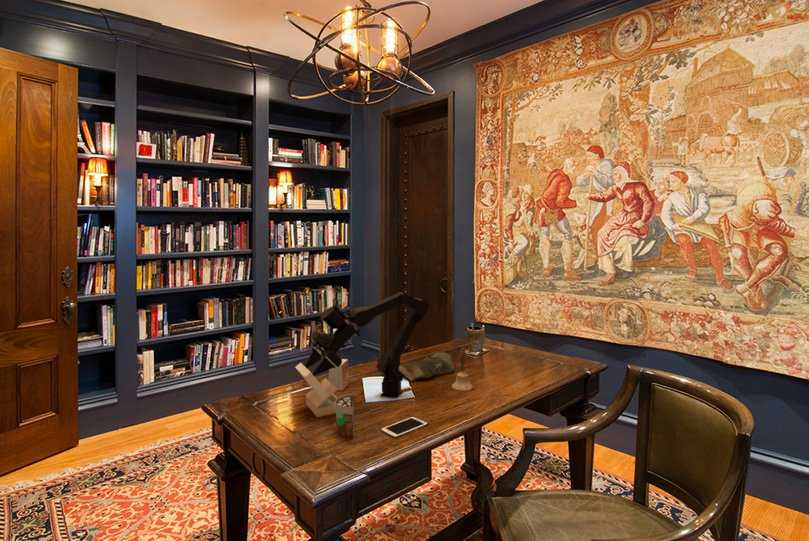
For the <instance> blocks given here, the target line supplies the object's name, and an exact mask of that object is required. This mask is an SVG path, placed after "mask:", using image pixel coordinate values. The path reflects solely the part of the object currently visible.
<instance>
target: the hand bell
mask: <svg viewBox="0 0 809 541" xmlns="http://www.w3.org/2000/svg"><path fill="white" fill-rule="evenodd" d="M466 359H467V352H466V349H465V347H461V348H460V351H459V363H460V369H459V370H460V372H457V373H456V379H455V381H454V382H453V383H452V385H451V389H453V390H456V391H459V392H460V391H461V392H468V391H471V390H472V389H473V388H474V386H473V385H472V384H471V382H470V378H469V374H468V373H467V372H466V368H465V367H466V366H465V365H466V364H465V363H466V361H467V360H466Z"/></svg>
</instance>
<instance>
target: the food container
mask: <svg viewBox="0 0 809 541" xmlns="http://www.w3.org/2000/svg"><path fill="white" fill-rule="evenodd" d="M354 397H355V396H354V393H345V394H343V395H340V396H338V397H337V398H336V400H335V402H334V406H333V409H334V410H335V411H336V414H335V417H336V426H337V428H336V430H337V434H338V435H339V436H341V437H344V438H348V439H349V438H354V432H355V410H354V409H355V408H354V406H355V405H354V404H355V403H354V402H355V401H354Z"/></svg>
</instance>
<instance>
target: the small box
mask: <svg viewBox="0 0 809 541" xmlns="http://www.w3.org/2000/svg"><path fill="white" fill-rule="evenodd" d="M341 359H342V364H341V365H340V366H339V367H337V366H336V365H335V367H336V368H332V369H330V370H328V381H329V382H330V383H331V384H332V385H334V386H335V387H336V388H337V389H338V390H337V391H339V392H340V391H341V392H342V391H344V389H346V387H347V386H349V359H346V358H341Z"/></svg>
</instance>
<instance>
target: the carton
mask: <svg viewBox="0 0 809 541" xmlns="http://www.w3.org/2000/svg"><path fill="white" fill-rule="evenodd" d="M336 398H338V397H337V396H336V395H335V393H333V394H332V395H331V396H330V397H329V398H328V399H327V400H326V401H324V402H323V403H322V404H321V405H320V406H319V407H318V408H317V407H316V406H315V405H314V404H313V403H312V402H311V401H310V400H309V398H308V397H307V396H306V397H305V401H306V402H305V403H306V407H307V408H308V409H309V410H310V411H311V412H312V413H313V415H314V416H315V417H316V418H322V417H325V416H330V415H334V414H335V415H336V411H335V410H334V409H333V406H334V402H335V400H336Z"/></svg>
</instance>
